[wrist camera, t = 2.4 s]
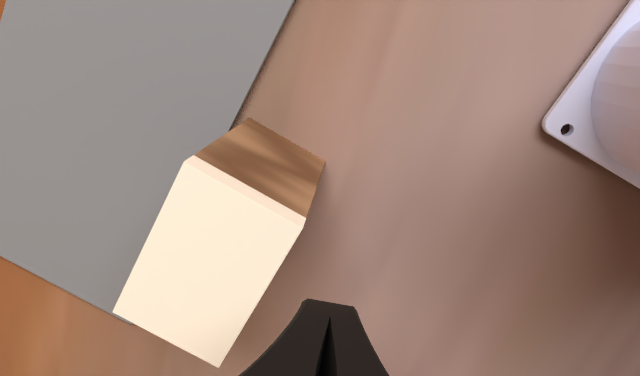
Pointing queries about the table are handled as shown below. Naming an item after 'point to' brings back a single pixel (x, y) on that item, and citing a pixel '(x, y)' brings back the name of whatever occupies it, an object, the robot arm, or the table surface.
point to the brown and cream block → (220, 239)
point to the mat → (113, 122)
